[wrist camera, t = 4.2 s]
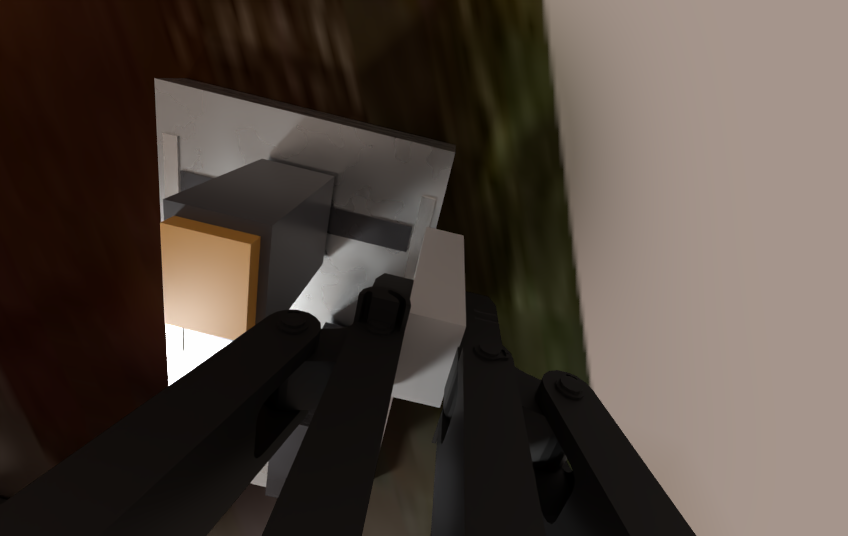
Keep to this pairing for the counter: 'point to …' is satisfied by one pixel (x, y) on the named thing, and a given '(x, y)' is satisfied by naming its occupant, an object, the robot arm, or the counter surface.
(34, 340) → the counter surface
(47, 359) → the counter surface
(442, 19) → the counter surface
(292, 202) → the block
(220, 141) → the panel
